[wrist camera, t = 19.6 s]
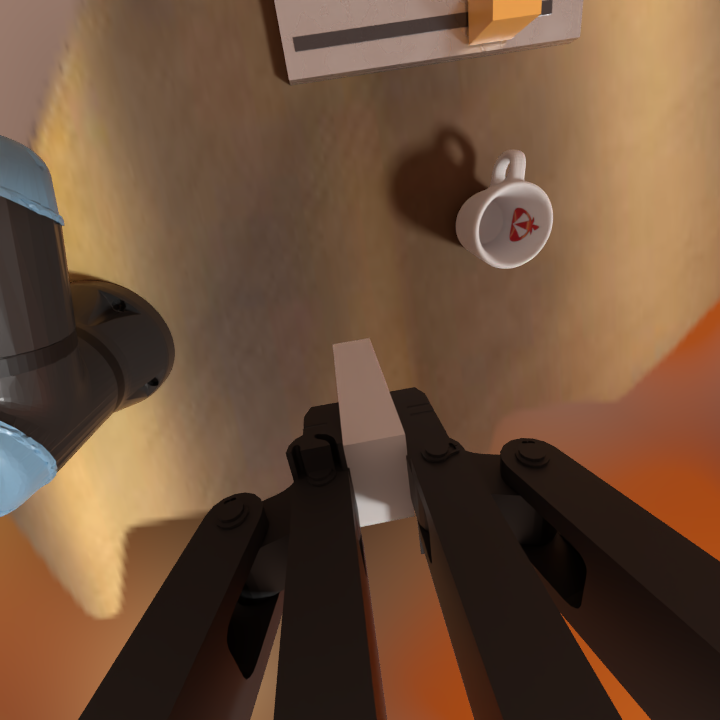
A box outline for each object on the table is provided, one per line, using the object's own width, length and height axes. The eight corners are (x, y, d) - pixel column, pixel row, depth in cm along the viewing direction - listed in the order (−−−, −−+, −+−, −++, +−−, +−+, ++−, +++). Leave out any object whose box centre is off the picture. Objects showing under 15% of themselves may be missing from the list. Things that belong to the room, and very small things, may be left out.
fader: (468, 45, 33) (492, 20, 29) (468, -12, 31) (493, -48, 27) (510, 39, 33) (541, 13, 29) (512, -19, 32) (544, -56, 27)
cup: (455, 153, 38) (487, 142, 31) (525, 157, 39) (572, 147, 32) (442, 256, 43) (467, 268, 35) (505, 258, 44) (542, 270, 36)
